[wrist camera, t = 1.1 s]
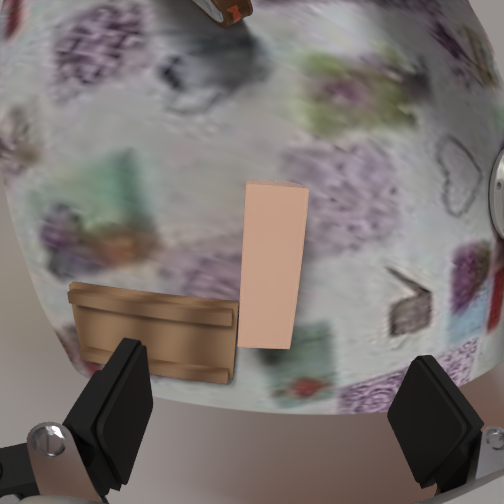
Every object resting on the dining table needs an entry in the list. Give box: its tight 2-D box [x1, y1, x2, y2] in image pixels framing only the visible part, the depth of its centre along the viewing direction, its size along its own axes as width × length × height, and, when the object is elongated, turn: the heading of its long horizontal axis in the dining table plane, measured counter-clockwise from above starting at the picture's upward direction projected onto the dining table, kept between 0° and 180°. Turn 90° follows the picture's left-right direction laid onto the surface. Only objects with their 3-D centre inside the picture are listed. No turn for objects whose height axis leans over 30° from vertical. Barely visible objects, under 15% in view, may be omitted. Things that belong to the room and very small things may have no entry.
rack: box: [68, 281, 239, 384], centre depth 28 cm, size 18×9×2 cm, turn 85°
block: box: [238, 179, 309, 349], centre depth 24 cm, size 4×12×7 cm, turn 176°
